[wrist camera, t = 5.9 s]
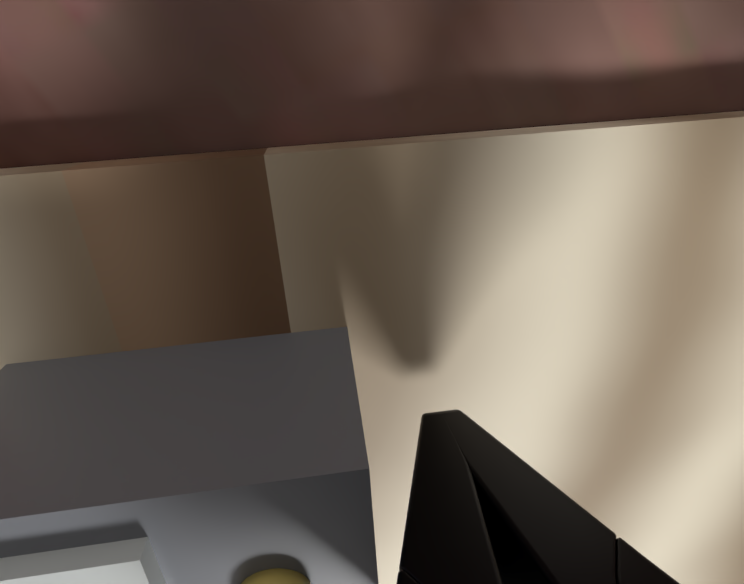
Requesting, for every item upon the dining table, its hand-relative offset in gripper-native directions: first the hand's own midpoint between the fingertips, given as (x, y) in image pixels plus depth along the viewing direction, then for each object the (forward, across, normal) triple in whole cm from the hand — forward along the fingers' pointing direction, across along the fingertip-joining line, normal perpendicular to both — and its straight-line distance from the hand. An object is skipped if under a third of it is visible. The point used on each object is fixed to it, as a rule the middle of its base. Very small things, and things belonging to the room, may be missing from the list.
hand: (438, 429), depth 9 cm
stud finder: (+1, +4, 0) cm, 5 cm away
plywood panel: (+2, -2, +6) cm, 6 cm away
